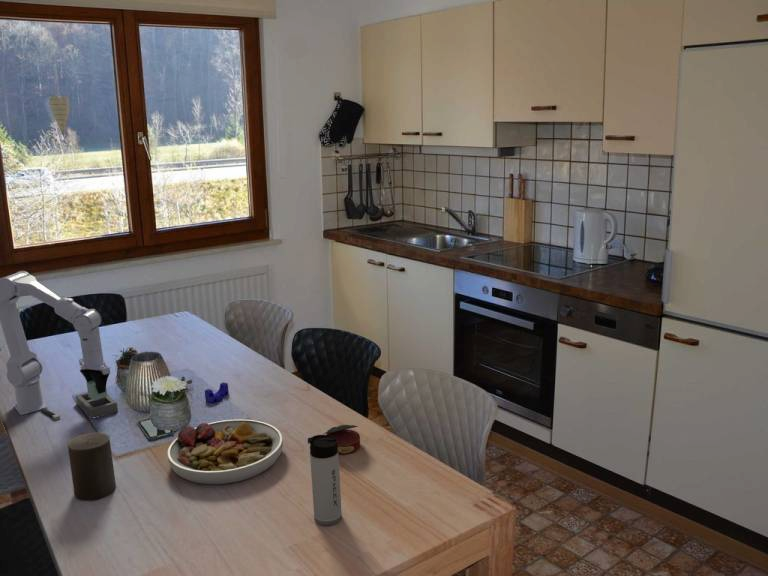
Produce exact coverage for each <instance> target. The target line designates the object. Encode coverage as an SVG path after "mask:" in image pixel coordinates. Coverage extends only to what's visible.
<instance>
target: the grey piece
mask: <svg viewBox="0 0 768 576" xmlns="http://www.w3.org/2000/svg"><path fill="white" fill-rule="evenodd" d="M75 401H76V405H77V406H78V407H79V408H80V409H81V410H82V411H83V412H84V411H85V412H86V413H87V414H88V415H89V416H90V417H91V418H90V417H89V416H88V415H87V414H86V413H85V412H84V413H85V414H86V415H87V416H88V417H89V418H90V419H92V418H93V417H97V416H101V417H103V416H102V415H104V416H107V415H111V414H115V413H117V412H119V409H118V402H117V401H116V400H114V399H113V398H112V397H111V396H110V395H109V394H107V397H104V398H101V399H98V400H93V399H91V398H89V396H88V391H87V392H84V393H83V392H82V393H80V394H77V395H75ZM110 413H111V414H110ZM106 414H107V415H106ZM97 418H98V417H97Z"/></svg>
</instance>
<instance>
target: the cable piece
mask: <svg viewBox="0 0 768 576" xmlns="http://www.w3.org/2000/svg"><path fill="white" fill-rule="evenodd" d="M40 411H41V412H42V413H44V414H45V415H48V416H49V417H51V418H52V419H53V420H55V421H58V420H60V419H61V416H60V415H59V414H57V413H54V412H52V411H50V410H49V409H48V408H46V409H45V408H42V409H41V410H40Z"/></svg>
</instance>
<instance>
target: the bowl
mask: <svg viewBox="0 0 768 576" xmlns="http://www.w3.org/2000/svg"><path fill="white" fill-rule="evenodd" d="M283 439H284V438H283V434H282V432H281V431H280V430H279V429H278V428H277V427H276V426H274V425H272V424H270V423H267V422H264V421H260V420H253V419H238V418H237V419H226V420H219V421H213V422H209V423H208V422H207V423H206V422H202V423H199V424H198V425H197V426H196V427H192V426H186V427H183V429H181V431H179V432H178V434H177V437H176V438H175V439H174V440H173V441H172V442H171V443H170V444H169V447H168V448H167V452H166V455H167V461H168V464H169V466H170V468H171V469H172V471H174V473H175V474H177V475H178V476H179V477H181V478H182V479H184V480H187V481H189V482H193V483H196V484H204V485H224V484H231V483H236V482H241V481H243V480H244V481H245V480H247V479H250V478H253V477H255V476H258V475H259V474H261V473H263V472H265V471H266V470H268V469H269V468H270V467H271V466H273V465H274V464H275V463H276V461H277V460H278V458H280V455H281V453H282V450H283V446H284V440H283Z"/></svg>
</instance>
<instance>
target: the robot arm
mask: <svg viewBox="0 0 768 576" xmlns="http://www.w3.org/2000/svg"><path fill="white" fill-rule="evenodd" d="M27 296H31V297H33V298H36V299H37V300H39V301H41V302H43V303H44V304H47V306H50V307H52V308H54V313H55V314H56V315H58V316H60V317H61V318H63V319H64V320H65V321H68V322H69V323H71V324H72V325H73V328H74V330H75V331H76V332H77V333H78V337H79V341H80V347H81V354H82V358H79V359H78V361H79V362H78V363H79V366H80V369H79V371H80V373H81V374H82V376H83V377H84V379H85V380H86V382H89V381H92V380H94V382H95V385H96V389H97V392H98V393H99V394H101V393H104V392H105V391H106V390H107V383H108V382H107V381H108V378H109V376H110V374H111V370H110V369H111V367H110V366H108V365H107V363H106V362H105V361H104V354H103V348H102V342H101V341H102V340H101V333H100V327H99V326H100V325H101V324H102V316H101V314H100V313H99V312H98V311H97V310H96V309H95V308H90V309H89V308H86V307H85V306H82V305H80V304H78V303H77V302H75V301H74V298H71V297H62V298H61V297H60V296H58V295H57V294H56V293H54V292H53V291H51V290H50V289H48V288H47V287H46V286H44V285H43V284H41V283H40V282H38V280H37V278H36V276H34V275H31V274H30V273H29V272H27V271H26V270H19V271H17V272H16V273H13V274H10V275H6V276H4V277H1V278H0V326H1V329H2V332H3V337H4V338H5V342H6V345H7V348H8V352H9V355H10V356H9V359H8V360H7V362H6V365H5V367H6V369H7V370H6V371H7V372H6V379H7V380H8V382H9V383H10V384H11V386H12V387H13V390H14V396H15V402H16V404H14V405H13V407H14V409H15V410H16V411H17V413H18V414H19V415H20V416H23V415H27V414H30V413H35V412H37V411H41V409H42V408H45V409H48V405H46V403H45V402H44V401H43V393H42V388H41V383H40V378H41V376H40V375H41V374H42V372H43V370H44V369H43V364H42V362H41V361H40V359H39V358H38V357H37V356H38V355H37V353H36V352H34V351H31V350H30V347H29V344H28V341H27V338H26V334H25V331H24V327H23V324H22V322H21V321H22V320H21V318H20V314H19V310H18V306H17V302H18V301H19V300H20V298H21V297H27Z"/></svg>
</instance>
